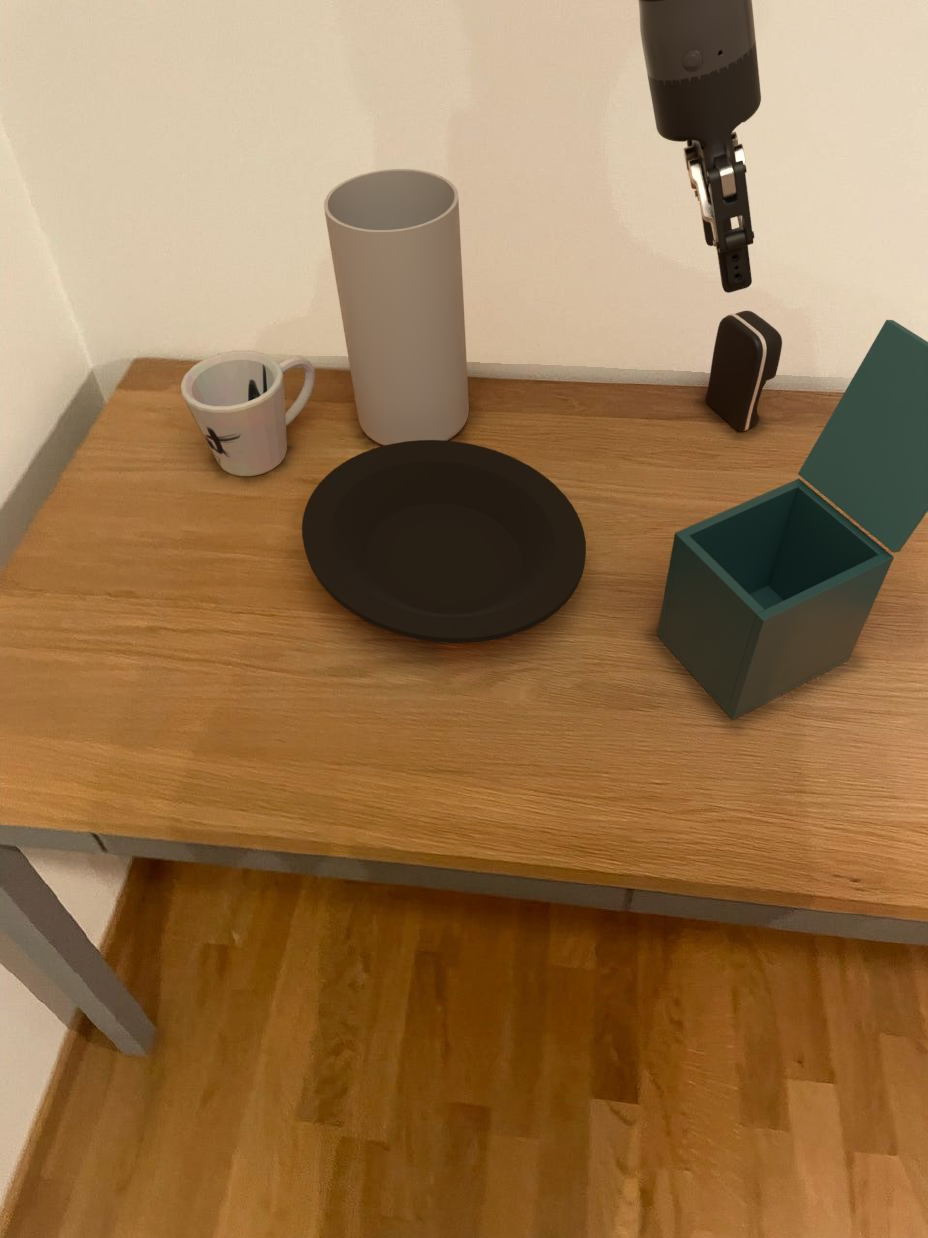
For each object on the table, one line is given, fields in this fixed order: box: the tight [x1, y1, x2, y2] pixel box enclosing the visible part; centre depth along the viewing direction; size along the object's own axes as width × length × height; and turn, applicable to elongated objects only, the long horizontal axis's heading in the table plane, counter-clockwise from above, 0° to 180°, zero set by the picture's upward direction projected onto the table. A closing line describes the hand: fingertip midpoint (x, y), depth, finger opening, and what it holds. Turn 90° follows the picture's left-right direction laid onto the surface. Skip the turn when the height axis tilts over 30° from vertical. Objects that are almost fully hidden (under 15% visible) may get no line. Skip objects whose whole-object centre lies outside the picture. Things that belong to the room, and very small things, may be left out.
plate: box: [301, 440, 587, 645], centre depth 87 cm, size 28×24×6 cm
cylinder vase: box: [323, 168, 470, 446], centre depth 95 cm, size 12×12×25 cm
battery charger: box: [705, 310, 783, 432], centre depth 98 cm, size 7×4×11 cm, turn 26°
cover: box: [797, 319, 928, 554], centre depth 69 cm, size 14×11×1 cm
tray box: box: [656, 478, 895, 721], centre depth 77 cm, size 13×11×13 cm
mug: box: [180, 350, 316, 477], centre depth 99 cm, size 10×15×10 cm
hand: (728, 263), depth 76 cm, fingers open, 8 cm apart
